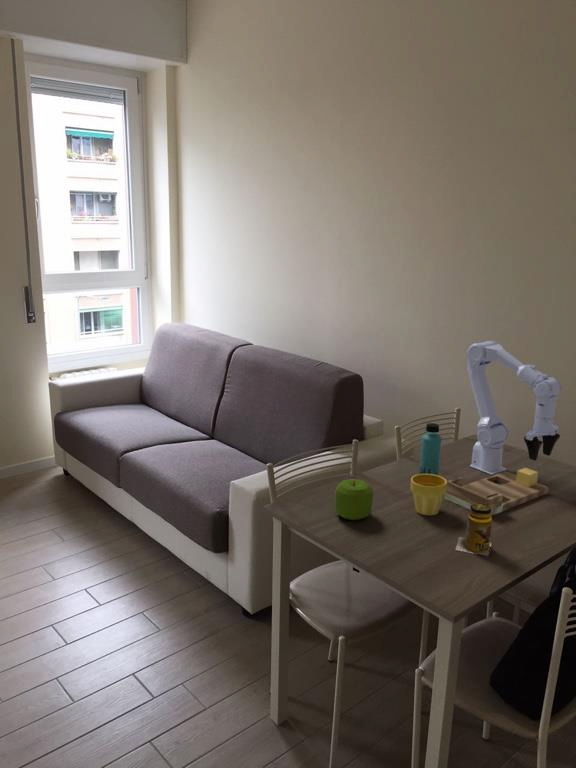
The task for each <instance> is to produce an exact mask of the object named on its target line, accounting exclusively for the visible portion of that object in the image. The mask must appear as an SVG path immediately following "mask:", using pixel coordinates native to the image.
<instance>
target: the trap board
mask: <svg viewBox="0 0 576 768" xmlns="http://www.w3.org/2000/svg"><path fill="white" fill-rule="evenodd" d="M516 477H517V474H514V473H512V472H509V471H507V470H505V471H502V472H499V473H496V474H493V475H490V476H486V477H484V478H481V479H479V480H476V481H472V482H469V483H468V484H464V485H463V477H462V476H458V477H455V478H451V479H449V480H446V481H447V491H446V494H445V495H443V499H445V500H448V501H450V502H452V503H454V504H457V505H458V506H461V507H463V508H465V509H467V510H469V511H470V506H471V505H472V504H473V503H484V504H487V505H489V506H490V507H491V517H493V516H494V515H497V514H499V513H503V512H505V511H507V510H509V509H512V508H514V507H516V506H519V505H522V504H524V503H527V502H529V501H532V500H535V499H537V498H539V497H542V496H545V495H547V494H549V486H547V485H544V484H542V483H538V482H537V484H535V485H532V486H530V487H527V486H524V485H522V484H519V483H516Z"/></svg>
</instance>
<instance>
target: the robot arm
mask: <svg viewBox="0 0 576 768" xmlns="http://www.w3.org/2000/svg"><path fill="white" fill-rule="evenodd" d="M465 354H466V357H467V365H466V370H467V374H468V378H469V381H470V385H471V386H470V387H471V390H472V393H473V397H474V400H475V403H476V407H477V411H478V415H479V418H480V419H479V422H478V424H477V425H476V428H477V440H478V441H476V442H475V444H474V445H473V447H472V454H471V464H470V465H469V466H470V467H471V468H473V469H475V470H478V471H481V472H484V473H485V474H488V475H490V476H493V475H496V474H498V473H501V472H504V471H507V468H506V467H503V466H502V462H503V453H504V445H505V441H507V439H508V438H509V429H508V427H507V426H506V425H505V423H504V420H503V419H502V418H501V417H500V416H499V415H498V413H497V410H496V406H495V403H494V398H493V396H492V393H491V389H490V385H489V380H488V377H487V373H486V369H487V368H488V366H489V365H490V363H492V362H498V363H499V364H501V365H503V367H506V368H507V369H509V370H511V371H512V372H514V373H515V374H516V375H517V379H518V380H519V381H520V382H522V383H523V384H525V385H526V386H527V387H528V388H530V389H532V390H533V392H534V395H535V397H536V398H535V402H536V403H535V411H534V419H533V427H532V429H530V430H529V431H528V432H526V435H525V436H524V437H523V440H524V442H525V445H526V447H527V452H528V458H529V460H532V461H537V459H538V456H539V451H540V448H541V447H542V453H543V455H544V456H545V455H546V456H551V454H552V452H553V450H554V446H555V445H556V443H557V441H558V440H559V439H560V437H561V434H559V430H560V429H559V428H560V426H558V425H555V424H554V422H555V413H556V406H557V397H558V395H559V394H560V393H561V391H562V384H561V382H560V381H559V380H558V379H557V378H556V377H552V376H551V377H548V375H547V374H546V373H545V374H544V373H543V372H541V371H540V370H538V369H537V368H536V367H537V366H535V365H534V364H525V365H524V364H523V363H522V362H521V361H520V360H518V359H517V358H515V357H514V356H513V355H512V354H511V353H509V352H508V351H507V350H505V349H504V348H503V346H502V344H500V343H497V342H496V341H495V340H487V341H483V342H478V343H477V342H475V343H472V344H470V346H469V347H468V349H467V351H466V353H465ZM539 438H542V440H539Z"/></svg>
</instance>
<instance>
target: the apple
mask: <svg viewBox="0 0 576 768" xmlns="http://www.w3.org/2000/svg"><path fill="white" fill-rule="evenodd" d="M373 499H374V493H373V489H372V487H371V486H370V485H369V484H368V483H367V482H366V481H365V480H361V479H357V478H356V479H355V478H353V479H352V478H347V479H344V480H342V481H341V482H339V483H338V484H337V485H336V487H335V491H334V507H335V513H336V514H337V515H339V516H340V517H341V518H342V519H344V520H347V519H348V520H347V521H358V520H361V519H364V518H367V517H368V516H369V515H370V514H371V512H372V507H373Z"/></svg>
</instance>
